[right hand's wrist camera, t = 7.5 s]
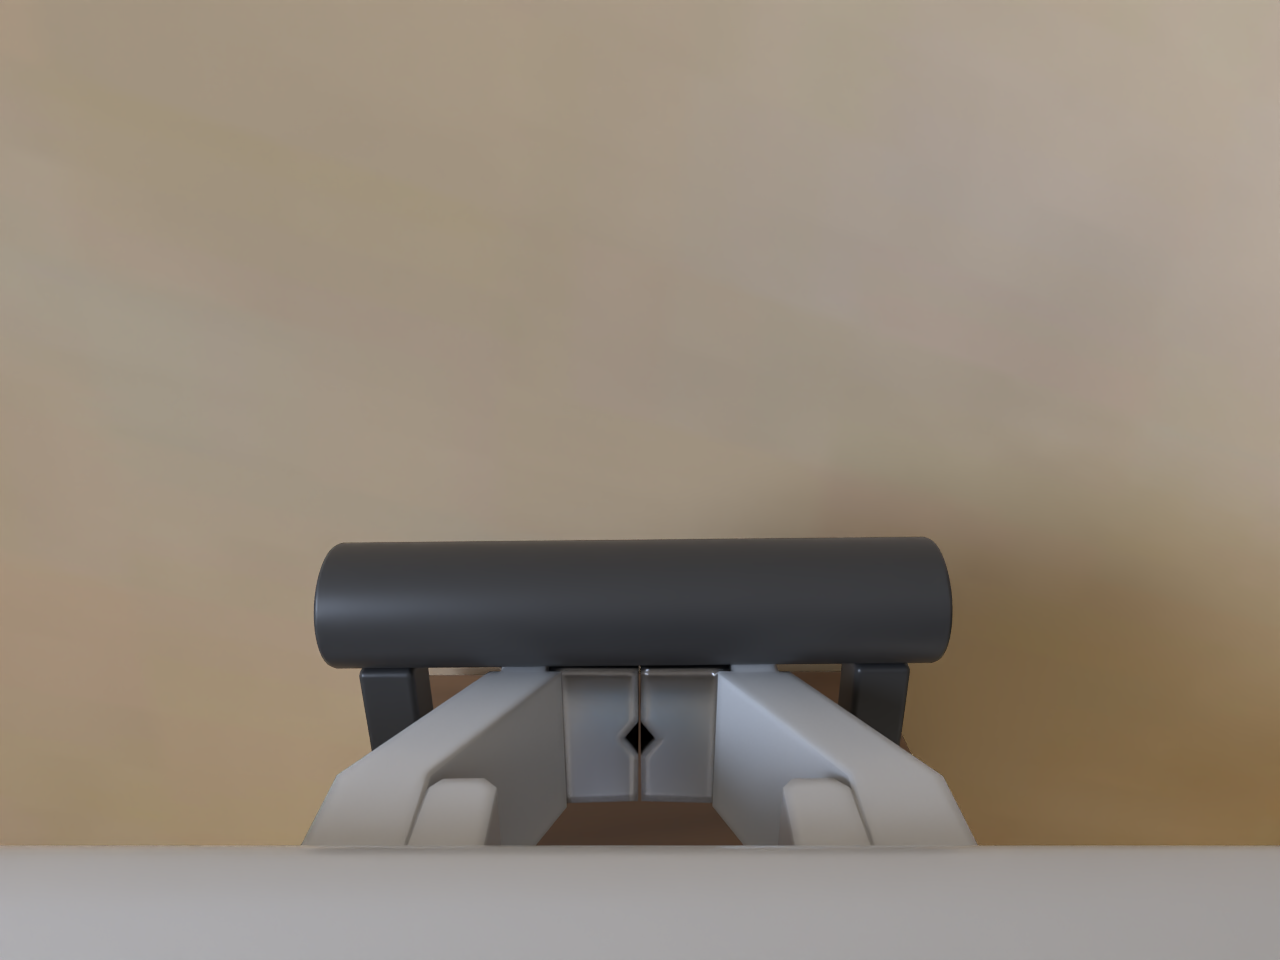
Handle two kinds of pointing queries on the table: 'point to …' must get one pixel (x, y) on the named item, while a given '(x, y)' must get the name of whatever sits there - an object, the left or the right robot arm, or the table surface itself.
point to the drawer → (633, 630)
